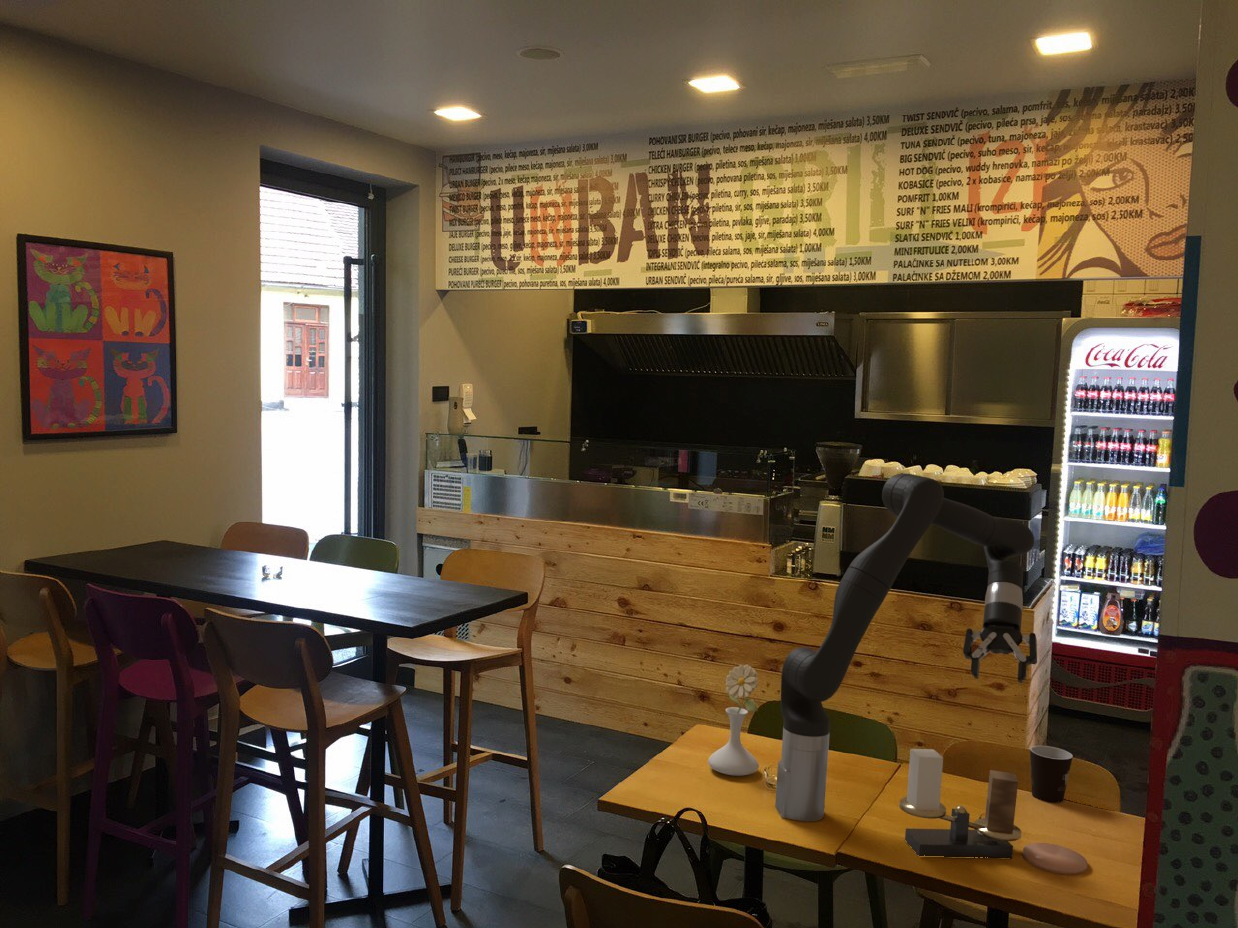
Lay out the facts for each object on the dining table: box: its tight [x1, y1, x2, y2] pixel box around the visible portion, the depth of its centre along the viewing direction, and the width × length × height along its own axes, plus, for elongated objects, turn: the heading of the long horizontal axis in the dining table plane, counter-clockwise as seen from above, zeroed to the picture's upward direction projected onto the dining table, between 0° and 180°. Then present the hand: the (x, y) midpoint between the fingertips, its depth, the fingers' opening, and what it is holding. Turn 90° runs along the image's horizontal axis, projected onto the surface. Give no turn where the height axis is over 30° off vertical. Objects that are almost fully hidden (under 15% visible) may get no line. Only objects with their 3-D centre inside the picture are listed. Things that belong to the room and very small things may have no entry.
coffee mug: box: [1029, 745, 1074, 804], centre depth 220 cm, size 12×9×10 cm
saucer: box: [1022, 842, 1088, 876], centre depth 187 cm, size 11×11×1 cm
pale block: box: [906, 748, 944, 810], centre depth 188 cm, size 4×4×10 cm
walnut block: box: [984, 769, 1019, 834], centre depth 190 cm, size 4×4×10 cm
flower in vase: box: [707, 664, 760, 777], centre depth 223 cm, size 13×11×25 cm
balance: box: [899, 796, 1022, 860], centre depth 189 cm, size 23×8×8 cm, turn 95°
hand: (997, 679), depth 206 cm, fingers open, 8 cm apart
